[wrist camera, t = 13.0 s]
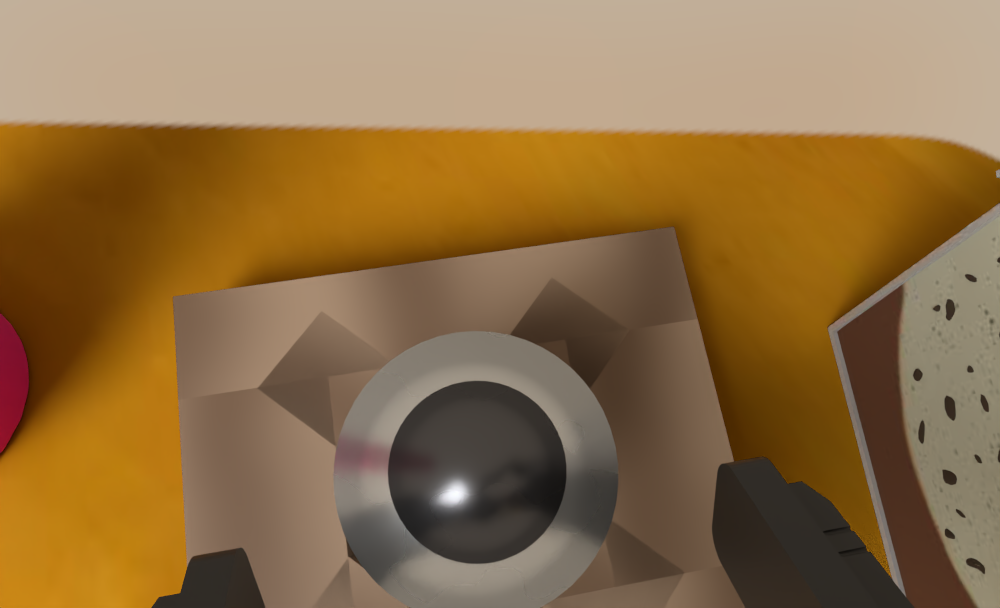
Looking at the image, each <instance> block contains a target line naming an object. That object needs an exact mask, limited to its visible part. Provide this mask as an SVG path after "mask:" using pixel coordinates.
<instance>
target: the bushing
mask: <svg viewBox="0 0 1000 608" xmlns="http://www.w3.org/2000/svg"><path fill="white" fill-rule="evenodd" d="M333 478H334V496H335V502H336V508H337V513H338V517H339V520H340V523H341V526H342V530H343V533H344V535H345V537H346V539H347V541H348V543H349V545H350V548H351V550H352V551H353V553H354V554H355V556H356V558H357V559H358V561H359V562H360V564H361V565H362V567H363V568H364V569H365V570H366V572H367V573H368V574H369V575H370V576H371V577H372V579H373V580H374V581H375V582H376V583H377V584H378V585H379V586H381V587H382V588H383V589H384V590H385V591H386V592H387V593H388V594H390V595H391V596H393V597H394V598H396V599H397V600H399V601H400V602H402V603H403V604H405V605H406V606H408V607H410V608H541V607H542V606H544V605H546V604H547V603H549V602H551V601H552V600H554V599H556V598H557V597H558V596H559V595H561V594H562V593H563V592H564V591H566V590H567V589H568V588H569V587H570V586H572V585H573V583H574V582H575V581H576V580H577V579H578V578H579V577H580V576H581V575H582V574H583V573H584V572H585V570H586V569H587V568H588V566H589V565H590V564H591V562H592V561H593V559H594V558H595V557H596V555H597V553H598V551H599V549H600V547H601V546H602V544H603V542H604V540H605V538H606V535H607V533H608V530H609V527H610V525H611V522H612V519H613V514H614V510H615V506H616V501H617V492H618V460H617V453H616V447H615V443H614V439H613V435H612V432H611V428H610V426H609V423H608V421H607V418H606V416H605V414H604V411H603V409H602V408H601V406H600V404H599V402H598V401H597V399H596V397H595V395H594V394H593V393H592V391H591V390H590V389H589V387H588V386H587V385H586V383H585V382H584V381H583V380H582V379H581V378H580V376H579V375H578V374H577V373H576V372H575V371H574V370H573V369H572V368H571V367H570V366H568V365H567V364H566V363H565V362H563V361H562V360H561V359H560V358H558V357H557V356H555V355H554V354H552V353H551V352H549V351H547V350H546V349H544V348H542V347H540V346H538V345H536V344H534V343H531V342H529V341H527V340H524V339H521V338H518V337H515V336H511V335H507V334H502V333H496V332H485V331H468V332H456V333H452V334H447V335H442V336H438V337H435V338H432V339H430V340H427V341H424V342H421V343H419V344H417V345H415V346H413V347H411V348H409V349H407V350H406V351H404V352H403V353H401V354H400V355H398V356H397V357H395V358H394V359H392V360H391V361H390V362H388V363H387V364H386V365H385V366H384V367H383V368H382V369H380V370H379V371H378V372H377V373H376V374H375V375H374V376H373V378H372V379H371V380H370V381H369V382H368V383H367V384H366V385H365V387H364V388H363V390H362V391H361V393H360V394H359V396H358V397H357V398H356V400H355V401H354V403H353V405H352V407H351V409H350V411H349V413H348V415H347V417H346V419H345V422H344V425H343V427H342V430H341V433H340V436H339V440H338V444H337V449H336V453H335V462H334V473H333Z"/></svg>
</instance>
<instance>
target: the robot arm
mask: <svg viewBox="0 0 1000 608" xmlns="http://www.w3.org/2000/svg"><path fill="white" fill-rule="evenodd" d="M712 535H713V541H714V545H715V549H716V552H717V555H718V558H719V560H720V562H721V564H722V566H723V568H724V570H725V572H726V573H727V575H728V577H729V579H730V581H731V582H732V584H733V586H734V588H735V590H736V592H737V593H738V595H739V597H740V599H741V601H742V603H743V604H744V606H745V608H914V606H913V605H912V604H911V603H910V601H909V600H908V599H907V598H906V596H905V595H904V594H903V593H902V591H901V590H900V589H899V587H898V586H897V585H896V584H895V582H894V581H893V580H892V579H891V577H890V576H889V575H888V574H887V572H886V571H885V570H884V569H883V567H882V566H881V565H880V563H879V562H878V561H877V560H876V558H875V557H874V556H873V555H872V553H871V552H868V551H867V550H866V546H865V545H864V543H863V542H862V541H861V539H860V538H859V537H858V536H857V534H856V533H855V532H854V531H851V530H850V526H849V524H848V523H847V522H846V521H845V519H844V518H843V517H842V515H841V514H840V513H839V512H838V510H837V509H836V508H835V507H834V505H833V504H832V503H831V502H830V501H829V500H828V499H826V498H825V497H823V496H822V495H821V494H819V493H818V492H816V491H815V490H813V489H812V488H810V487H809V486H807V485H806V484H804V483H803V482H802V481H801V482H796V483H790V484H787V483H786V481H785V480H784V479H783V477H782V476H781V475H780V473H779V472H778V471H777V469H776V468H775V467H774V465H773V464H772V463H771V462H770V460H768V459H767V458H765V457H757V458H751V459H746V460H740V461H734V462H729V463H723V464H721V465H720V466H719V468H718V472H717V480H716V490H715V500H714V510H713V520H712ZM152 608H265V604H264V602H263V599H262V596H261V593H260V590H259V588H258V585H257V582H256V579H255V576H254V574H253V571H252V568H251V565H250V562H249V560H248V557H247V554H246V552H245V550H244V549H243V548H236V549H230V550H224V551H219V552H213V553H207V554H202V555H196V556H193V557H192V558H191V559H190V561H189V564H188V567H187V570H186V574H185V578H184V582H183V585H182V589H181V593H179V594H174V595H168V596H163V597H159V598H158V599H157V601H156V602H155V604H154V605H153V606H152Z"/></svg>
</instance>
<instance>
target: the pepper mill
mask: <svg viewBox="0 0 1000 608" xmlns="http://www.w3.org/2000/svg"><path fill="white" fill-rule="evenodd" d="M28 390H29V373H28V363H27V356H26V353H25V350H24V347H23V344H22V341H21V340H20V338H19V336H18V335H17V333H16V331H15V330H14V328H13V326H12V325H11V324H10V323H9V322H8V321H7V320H6V318H5V317H4V316H3V315H2V314H1V313H0V453H1V452H2V451H3V449H4V448H5V447H6V445H7V443H8V442H9V440H10V438H11V436H12V434H13V432H14V431H15V429H16V427H17V425H18V423H19V421H20V420H21V417H22V413H23V410H24V406H25V402H26V399H27V394H28Z"/></svg>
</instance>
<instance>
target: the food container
mask: <svg viewBox="0 0 1000 608" xmlns="http://www.w3.org/2000/svg"><path fill="white" fill-rule="evenodd" d="M996 176H997V178H1000V170H997V171H996ZM828 331H829V335H830V339H831V343H832V347H833V351H834V355H835V358H836V362H837V366H838V370H839V374H840V378H841V382H842V386H843V389H844V393H845V397H846V401H847V405H848V409H849V413H850V417H851V420H852V424H853V428H854V432H855V436H856V440H857V444H858V448H859V451H860V455H861V459H862V463H863V467H864V471H865V475H866V479H867V482H868V486H869V490H870V494H871V498H872V502H873V506H874V510H875V513H876V517H877V521H878V525H879V529H880V533H881V537H882V541H883V545H884V548H885V552H886V556H887V560H888V564H889V568H890V572H891V576H892V579H893V581H894V582H895V584H896V585H897V586H898V587H899V589H900V590H901V591H902V593H903V594H904V595H905V596H906V598H907V599H908V600H909V601H910V603H911V604H912V605H913V606H914V608H1000V203H999V204H997V205H996V206H994V207H993V208H992V209H990V210H989V211H987V212H986V213H985V214H983V215H982V216H981V217H979V218H978V219H976V220H975V221H974V222H972V223H971V224H969V225H968V226H967V227H965V228H964V229H963V230H961V231H960V232H958V233H957V234H956V235H954V236H953V237H952V238H950V239H949V240H947V241H946V242H945V243H943V244H942V245H940V246H939V247H938V248H936V249H935V250H934V251H932V252H931V253H929V254H928V255H927V256H925V257H924V258H923V259H921V260H920V261H918V262H917V263H916V264H914V265H913V266H911V267H910V268H909V269H907V270H906V271H905V272H903V273H902V274H900V275H899V276H898V277H896V278H895V279H893V280H892V281H891V282H889V283H888V284H887V285H885V286H884V287H882V288H881V289H880V290H878V291H877V292H876V293H874V294H873V295H871V296H870V297H869V298H867V299H866V300H864V301H863V302H862V303H860V304H859V305H858V306H856V307H855V308H853V309H852V310H851V311H849V312H848V313H847V314H845V315H844V316H842V317H841V318H840V319H838V320H837V321H835V322H834V323H833V324H831V325H830V326H829V327H828Z"/></svg>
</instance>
